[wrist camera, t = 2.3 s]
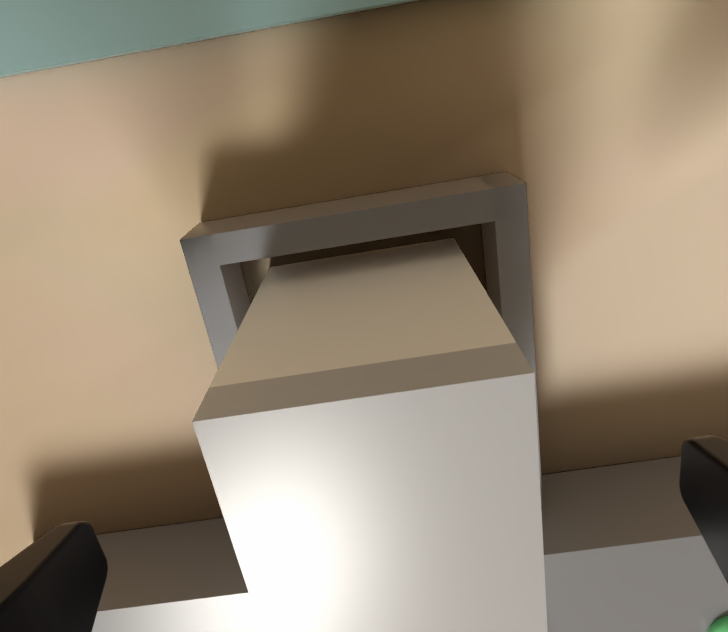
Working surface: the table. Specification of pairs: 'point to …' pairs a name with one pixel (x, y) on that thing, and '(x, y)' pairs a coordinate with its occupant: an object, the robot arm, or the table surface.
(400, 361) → the light grey rectangular block
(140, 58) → the table surface
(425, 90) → the table surface
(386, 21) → the table surface
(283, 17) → the teal square plate
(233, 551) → the grey angular piece
